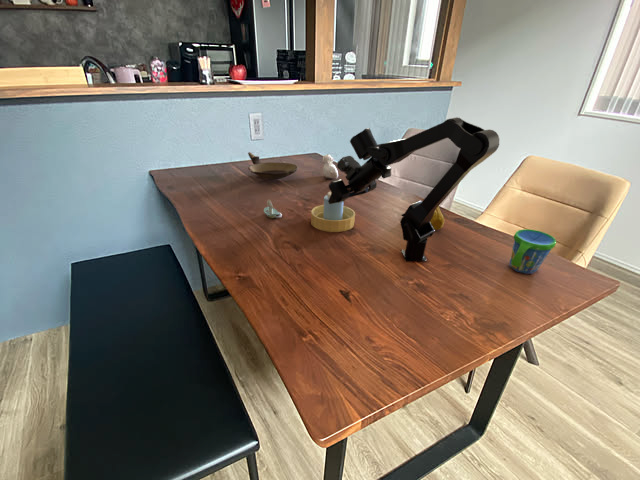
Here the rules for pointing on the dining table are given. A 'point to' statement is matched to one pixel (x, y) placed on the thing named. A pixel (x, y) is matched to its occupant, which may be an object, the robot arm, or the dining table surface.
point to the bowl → (332, 225)
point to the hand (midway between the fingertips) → (338, 199)
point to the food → (437, 219)
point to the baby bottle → (332, 209)
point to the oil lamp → (271, 168)
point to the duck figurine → (329, 167)
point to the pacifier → (271, 211)
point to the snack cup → (530, 250)
